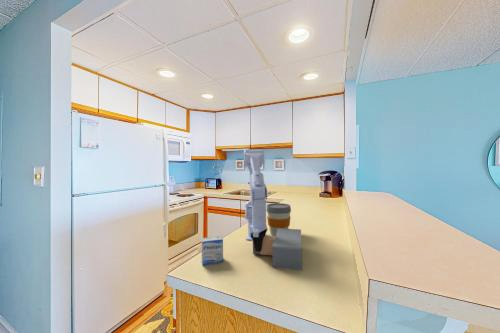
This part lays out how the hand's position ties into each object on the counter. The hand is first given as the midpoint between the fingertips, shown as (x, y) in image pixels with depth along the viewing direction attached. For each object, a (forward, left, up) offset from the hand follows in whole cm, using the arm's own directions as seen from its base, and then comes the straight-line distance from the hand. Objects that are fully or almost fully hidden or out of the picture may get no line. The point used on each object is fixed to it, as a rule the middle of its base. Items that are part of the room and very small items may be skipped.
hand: (259, 248), depth 82 cm
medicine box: (+10, -16, -2) cm, 19 cm away
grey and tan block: (0, +5, -2) cm, 5 cm away
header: (0, +12, -2) cm, 12 cm away
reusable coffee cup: (-24, +6, -2) cm, 25 cm away
